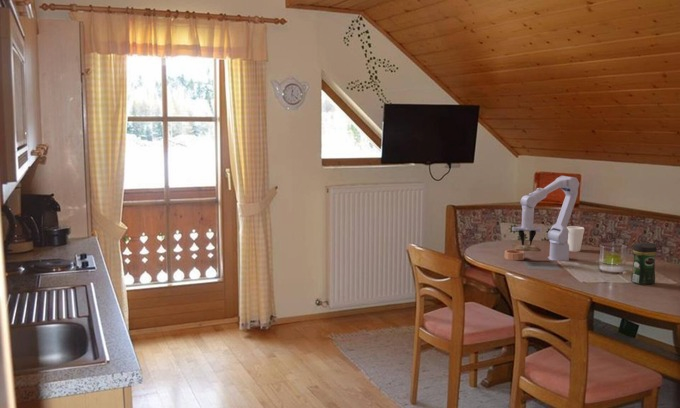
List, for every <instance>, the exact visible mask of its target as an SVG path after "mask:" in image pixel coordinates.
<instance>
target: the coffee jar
mask: <svg viewBox="0 0 680 408" xmlns="http://www.w3.org/2000/svg"><path fill="white" fill-rule="evenodd" d="M657 248H658V247H657V244H656V243H653V242H638V243H636V242H635V243H634V244H633V248H632V252H633V265H632V271H631V277H630V281H631V282H632V283H634V284H635V285H636V284H637V285H643V286H645V285H647V286H648V285H653V284H655V282H656V256H657V252H658V251H657V250H658V249H657Z"/></svg>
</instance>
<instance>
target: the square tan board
mask: <svg viewBox="0 0 680 408" xmlns="http://www.w3.org/2000/svg"><path fill="white" fill-rule="evenodd" d="M512 248H513V250H516V251H524V252H541V251H542V249H541V248H539V247H538V246H537V245H531V246H530V240H529V239H524V245H522V244H521V245H520V244H512Z"/></svg>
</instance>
